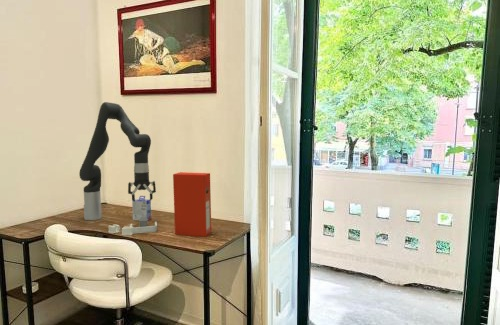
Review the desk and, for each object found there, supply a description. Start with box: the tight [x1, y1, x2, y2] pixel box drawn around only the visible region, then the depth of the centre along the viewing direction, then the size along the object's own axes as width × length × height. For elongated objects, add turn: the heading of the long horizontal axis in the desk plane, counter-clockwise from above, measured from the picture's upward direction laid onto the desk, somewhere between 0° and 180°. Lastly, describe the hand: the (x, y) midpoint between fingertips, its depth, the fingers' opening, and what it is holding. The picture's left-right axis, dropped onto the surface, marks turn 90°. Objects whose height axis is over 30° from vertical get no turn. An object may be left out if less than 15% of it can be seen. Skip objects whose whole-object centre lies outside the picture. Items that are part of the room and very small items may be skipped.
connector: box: [138, 218, 148, 227], centre depth 184 cm, size 4×11×6 cm, turn 17°
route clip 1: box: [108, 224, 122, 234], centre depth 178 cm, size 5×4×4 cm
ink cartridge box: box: [131, 195, 152, 221], centre depth 203 cm, size 10×6×14 cm, turn 78°
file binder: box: [172, 171, 212, 238], centre depth 173 cm, size 8×17×32 cm, turn 75°
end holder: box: [129, 221, 158, 235], centre depth 181 cm, size 14×9×3 cm, turn 107°
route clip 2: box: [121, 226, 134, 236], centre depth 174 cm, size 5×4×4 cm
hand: (142, 200), depth 180 cm, fingers open, 8 cm apart
